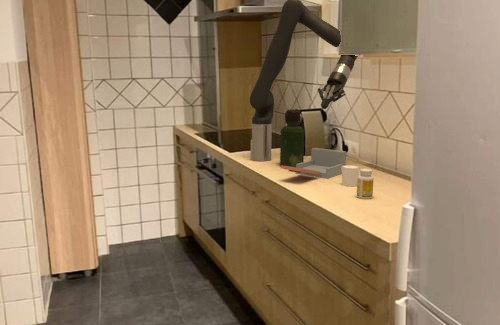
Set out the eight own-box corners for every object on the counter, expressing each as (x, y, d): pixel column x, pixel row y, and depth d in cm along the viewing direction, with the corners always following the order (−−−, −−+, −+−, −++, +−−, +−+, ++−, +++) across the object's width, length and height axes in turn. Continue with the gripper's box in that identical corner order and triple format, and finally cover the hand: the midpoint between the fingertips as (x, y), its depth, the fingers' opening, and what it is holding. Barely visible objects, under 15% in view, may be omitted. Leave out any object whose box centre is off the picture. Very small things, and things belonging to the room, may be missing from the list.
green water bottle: (307, 167, 225) (308, 110, 220) (285, 168, 222) (286, 111, 217) (297, 163, 235) (299, 108, 230) (276, 164, 231) (277, 109, 227)
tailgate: (300, 168, 209) (281, 165, 197) (320, 171, 204) (301, 168, 192) (300, 173, 209) (280, 169, 197) (319, 176, 204) (300, 172, 192)
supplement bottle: (353, 197, 175) (354, 169, 173) (361, 194, 179) (363, 167, 177) (367, 200, 172) (368, 172, 170) (375, 197, 176) (376, 169, 174)
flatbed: (314, 167, 224) (315, 147, 222) (345, 172, 215) (346, 151, 213) (296, 173, 212) (296, 152, 211) (327, 178, 203) (328, 156, 202)
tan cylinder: (337, 183, 195) (337, 165, 194) (352, 182, 198) (353, 164, 196) (346, 187, 189) (347, 169, 188) (362, 186, 191) (363, 167, 190)
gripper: (322, 70, 218) (306, 100, 211) (350, 71, 210) (334, 102, 203) (328, 82, 223) (312, 112, 216) (355, 83, 215) (340, 114, 208)
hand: (323, 107), depth 210 cm, fingers closed
